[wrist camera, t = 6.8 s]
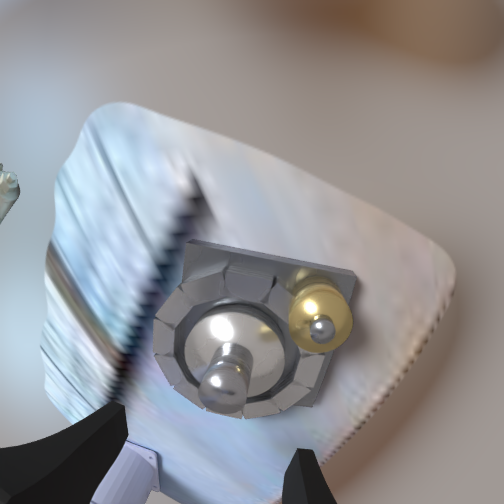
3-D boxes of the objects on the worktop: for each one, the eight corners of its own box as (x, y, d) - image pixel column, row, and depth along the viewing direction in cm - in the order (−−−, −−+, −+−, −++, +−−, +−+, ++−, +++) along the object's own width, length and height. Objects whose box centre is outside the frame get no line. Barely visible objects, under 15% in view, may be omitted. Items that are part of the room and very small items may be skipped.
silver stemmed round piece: (268, 393, 18) (262, 446, 14) (184, 367, 19) (158, 413, 14) (298, 321, 17) (302, 368, 12) (202, 291, 17) (172, 328, 12)
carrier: (306, 408, 20) (309, 455, 15) (164, 377, 21) (138, 418, 16) (352, 270, 17) (375, 300, 12) (174, 235, 18) (137, 252, 13)
